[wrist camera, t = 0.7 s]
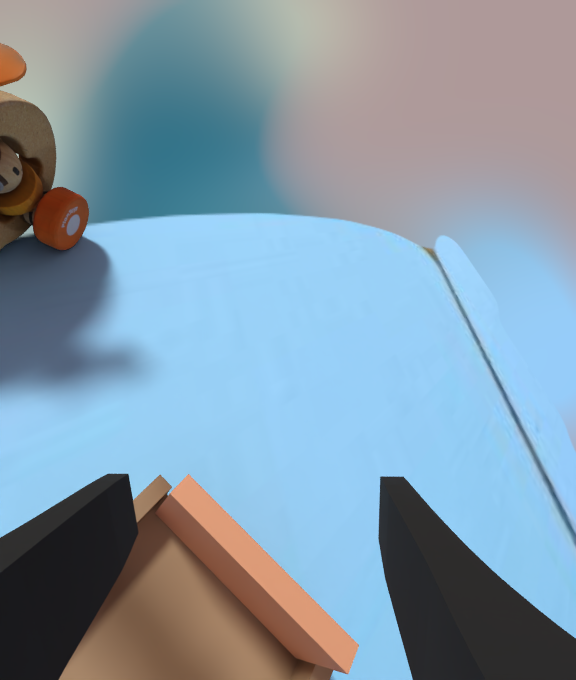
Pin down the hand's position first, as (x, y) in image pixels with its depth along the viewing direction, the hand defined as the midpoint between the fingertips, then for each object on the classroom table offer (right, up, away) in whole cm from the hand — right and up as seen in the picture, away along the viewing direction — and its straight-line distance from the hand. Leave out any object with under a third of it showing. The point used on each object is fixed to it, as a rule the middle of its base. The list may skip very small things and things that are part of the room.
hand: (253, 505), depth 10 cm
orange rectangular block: (-2, -9, +11) cm, 14 cm away
